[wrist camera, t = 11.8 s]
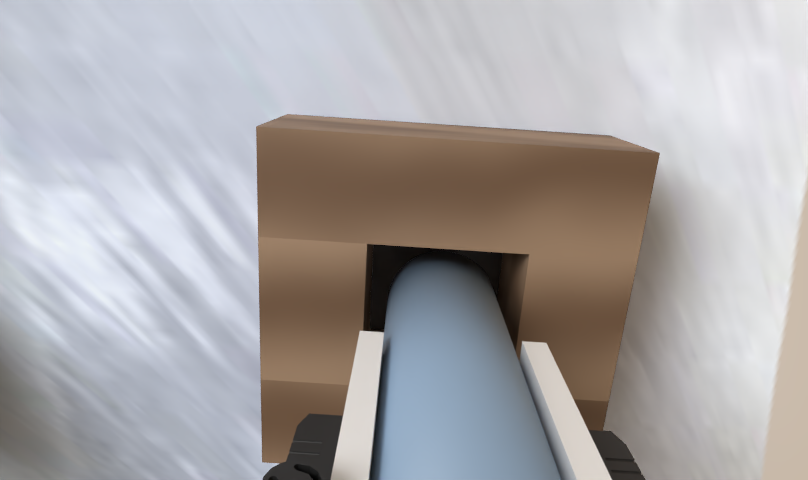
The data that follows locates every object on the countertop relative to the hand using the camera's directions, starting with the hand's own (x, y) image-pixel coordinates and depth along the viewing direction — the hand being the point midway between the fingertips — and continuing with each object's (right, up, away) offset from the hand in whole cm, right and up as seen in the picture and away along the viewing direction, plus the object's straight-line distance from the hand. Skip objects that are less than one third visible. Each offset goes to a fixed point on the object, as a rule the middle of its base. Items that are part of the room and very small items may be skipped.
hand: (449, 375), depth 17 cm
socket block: (0, +3, +9) cm, 9 cm away
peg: (0, +2, +5) cm, 6 cm away
